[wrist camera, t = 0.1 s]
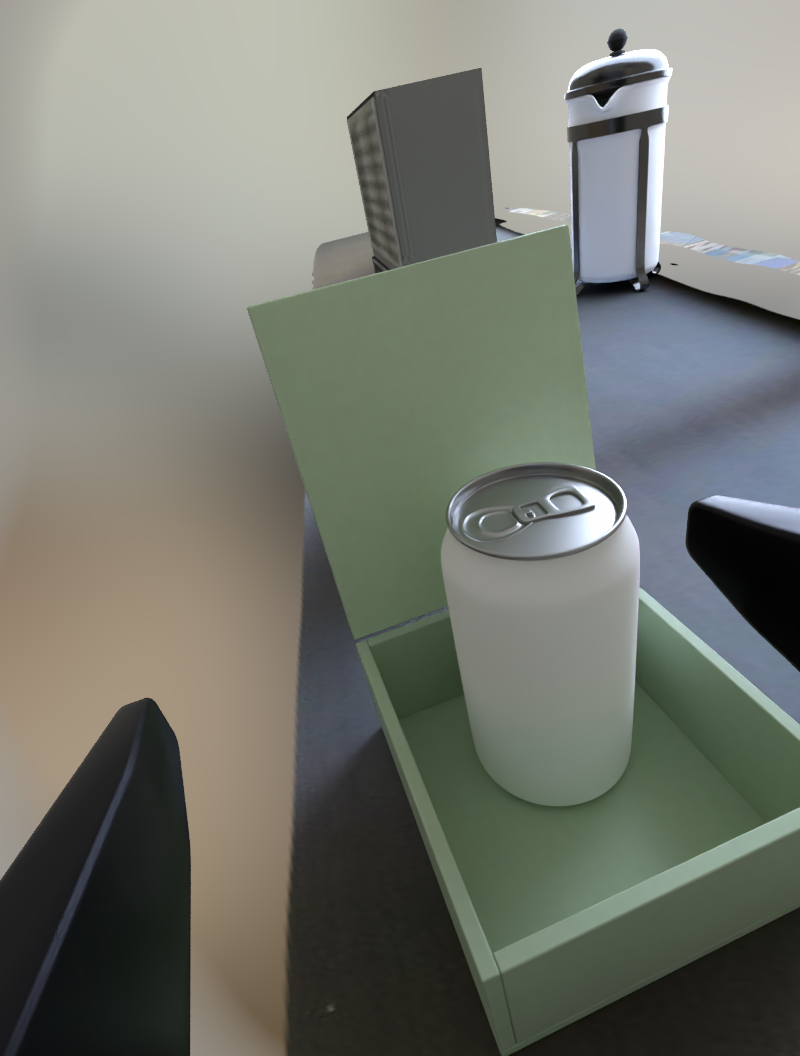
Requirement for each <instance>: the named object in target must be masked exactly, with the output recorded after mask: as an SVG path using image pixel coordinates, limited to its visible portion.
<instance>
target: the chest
mask: <svg viewBox="0 0 800 1056" xmlns="http://www.w3.org/2000/svg"><path fill="white" fill-rule="evenodd" d="M356 647H357V650H358V654H359V657H360V660H361V663H362V666H363V670H364V673H365V676H366V679H367V682H368V685H369V689H370V692H371V695H372V698H373V701H374V704H375V708H376V711H377V714H378V717H379V720H380V724H381V727H382V729H383V732H384V735H385V738H386V740H387V743H388V746H389V749H390V751H391V754H392V757H393V760H394V762H395V765H396V768H397V771H398V773H399V776H400V779H401V782H402V784H403V787H404V790H405V793H406V795H407V798H408V801H409V804H410V806H411V809H412V812H413V815H414V817H415V820H416V823H417V825H418V828H419V831H420V834H421V836H422V839H423V842H424V845H425V847H426V850H427V853H428V856H429V858H430V861H431V864H432V867H433V869H434V872H435V875H436V878H437V880H438V883H439V886H440V889H441V891H442V894H443V897H444V900H445V902H446V905H447V908H448V911H449V913H450V916H451V919H452V922H453V924H454V927H455V930H456V933H457V935H458V938H459V941H460V944H461V946H462V949H463V952H464V955H465V957H466V960H467V963H468V966H469V968H470V971H471V974H472V977H473V979H474V982H475V985H476V988H477V990H478V993H479V996H480V999H481V1001H482V1004H483V1007H484V1010H485V1012H486V1015H487V1018H488V1021H489V1023H490V1026H491V1029H492V1032H493V1034H494V1037H495V1040H496V1043H497V1045H498V1048H499V1051H500V1054H501V1056H508V1055H510V1054H512V1053H514V1052H516V1051H518V1050H520V1049H522V1048H524V1047H526V1046H528V1045H530V1044H532V1043H534V1042H536V1041H538V1040H540V1039H541V1038H543V1037H545V1036H547V1035H549V1034H551V1033H553V1032H555V1031H557V1030H559V1029H561V1028H563V1027H565V1026H567V1025H569V1024H571V1023H573V1022H575V1021H577V1020H579V1019H581V1018H583V1017H585V1016H587V1015H589V1014H591V1013H593V1012H595V1011H596V1010H598V1009H600V1008H602V1007H604V1006H606V1005H608V1004H610V1003H612V1002H614V1001H616V1000H618V999H620V998H622V997H624V996H626V995H628V994H630V993H632V992H634V991H636V990H638V989H640V988H642V987H644V986H646V985H648V984H650V983H651V982H653V981H655V980H657V979H659V978H661V977H663V976H665V975H667V974H669V973H671V972H673V971H675V970H677V969H679V968H681V967H683V966H685V965H687V964H689V963H691V962H693V961H695V960H697V959H699V958H701V957H703V956H704V955H706V954H708V953H710V952H712V951H714V950H716V949H718V948H720V947H722V946H724V945H726V944H728V943H730V942H732V941H734V940H736V939H738V938H740V937H742V936H744V935H746V934H748V933H750V932H752V931H754V930H756V929H758V928H759V927H761V926H763V925H765V924H767V923H769V922H771V921H773V920H775V919H777V918H779V917H781V916H783V915H785V914H787V913H789V912H791V911H793V910H795V909H797V908H799V907H800V725H799V724H798V723H797V722H796V721H795V720H794V719H792V718H791V717H790V716H789V715H788V714H787V713H785V712H784V711H783V710H782V709H781V708H780V707H778V706H777V705H776V704H775V703H774V702H773V701H772V700H770V699H769V698H768V697H767V696H766V695H765V694H763V693H762V692H761V691H760V690H759V689H758V688H756V687H755V686H754V685H753V684H752V683H751V682H749V681H748V680H747V679H746V678H745V677H744V676H743V675H741V674H740V673H739V672H738V671H737V670H736V669H734V668H733V667H732V666H731V665H730V664H729V663H727V662H726V661H725V660H724V659H723V658H722V657H720V656H719V655H718V654H717V653H716V652H715V651H714V650H712V649H711V648H710V647H709V646H708V645H707V644H705V643H704V642H703V641H702V640H701V639H700V638H698V637H697V636H696V635H695V634H694V633H693V632H691V631H690V630H689V629H688V628H687V627H686V626H685V625H683V624H682V623H681V622H680V621H679V620H678V619H676V618H675V617H674V616H673V615H672V614H671V613H669V612H668V611H667V610H666V609H665V608H664V607H662V606H661V605H660V604H659V603H658V602H657V601H656V600H654V599H653V598H652V597H651V596H650V595H649V594H647V593H646V592H645V591H644V590H643V589H642V588H640V587H639V602H638V626H637V648H636V669H635V690H634V709H633V727H632V742H631V752H630V757H629V761H628V764H627V767H626V769H625V771H624V773H623V775H622V776H621V778H620V779H619V780H618V781H617V783H616V784H615V785H614V786H613V787H612V788H610V789H609V790H608V791H607V792H605V793H604V794H602V795H601V796H599V797H597V798H595V799H593V800H590V801H588V802H584V803H581V804H577V805H571V806H545V805H540V804H535V803H531V802H528V801H525V800H523V799H520V798H518V797H516V796H514V795H512V794H511V793H509V792H507V791H506V790H504V789H503V788H502V787H500V786H499V785H498V784H497V783H496V782H495V781H494V780H493V779H492V778H491V776H490V775H489V774H488V773H487V771H486V770H485V768H484V767H483V765H482V763H481V762H480V760H479V758H478V755H477V753H476V749H475V746H474V742H473V737H472V732H471V727H470V722H469V717H468V712H467V706H466V701H465V696H464V690H463V685H462V680H461V674H460V669H459V663H458V658H457V652H456V647H455V641H454V636H453V631H452V625H451V619H450V614H449V610H446V611H443V612H440V613H438V614H435V615H432V616H429V617H427V618H424V619H421V620H418V621H416V622H413V623H410V624H407V625H405V626H402V627H399V628H397V629H394V630H391V631H388V632H386V633H383V634H380V635H377V636H375V637H372V638H369V639H367V641H366V640H364V641H361V642H358V643H356Z"/></svg>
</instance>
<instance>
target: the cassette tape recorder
mask: <svg viewBox="0 0 800 1056" xmlns="http://www.w3.org/2000/svg"><path fill="white" fill-rule="evenodd" d="M347 123H348V129H349V134H350V139H351V144H352V149H353V154H354V160H355V164H356V170H357V175H358V179H359V185H360V190H361V195H362V200H363V205H364V210H365V216H366V220H367V226H368V231H369V236H370V241H371V246H372V248H373V253H374V257H372V259H373V264H374V269H375V274H376V273H380V272H384V271H388V270H392V269H396V268H400V267H404V266H407V265H411V264H415V263H419V262H423V261H427V260H431V259H434V258H438V257H442V256H446V255H450V254H454V253H458V252H462V251H465V250H469V249H473V248H477V247H481V246H485V245H489V244H493V243H496V242H497V239H496V227H495V216H494V206H493V193H492V183H491V172H490V161H489V148H488V137H487V126H486V115H485V104H484V92H483V81H482V70H481V68H478V69H473V70H469V71H464V72H460V73H455V74H451V75H446V76H442V77H437V78H433V79H428V80H424V81H420V82H415V83H410V84H405V85H401V86H397V87H392V88H388V89H383V90H378V91H374V92H373V93H372V94H371V95H370V96H369V97H368V98H367V99H365V100H364V101H363V102H362V103H361V104H360V105H359V106H358V107H357V108H356V109H355V110H354V111H353V112H352V113H351V114H350V115H349V116H348V117H347Z"/></svg>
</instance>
